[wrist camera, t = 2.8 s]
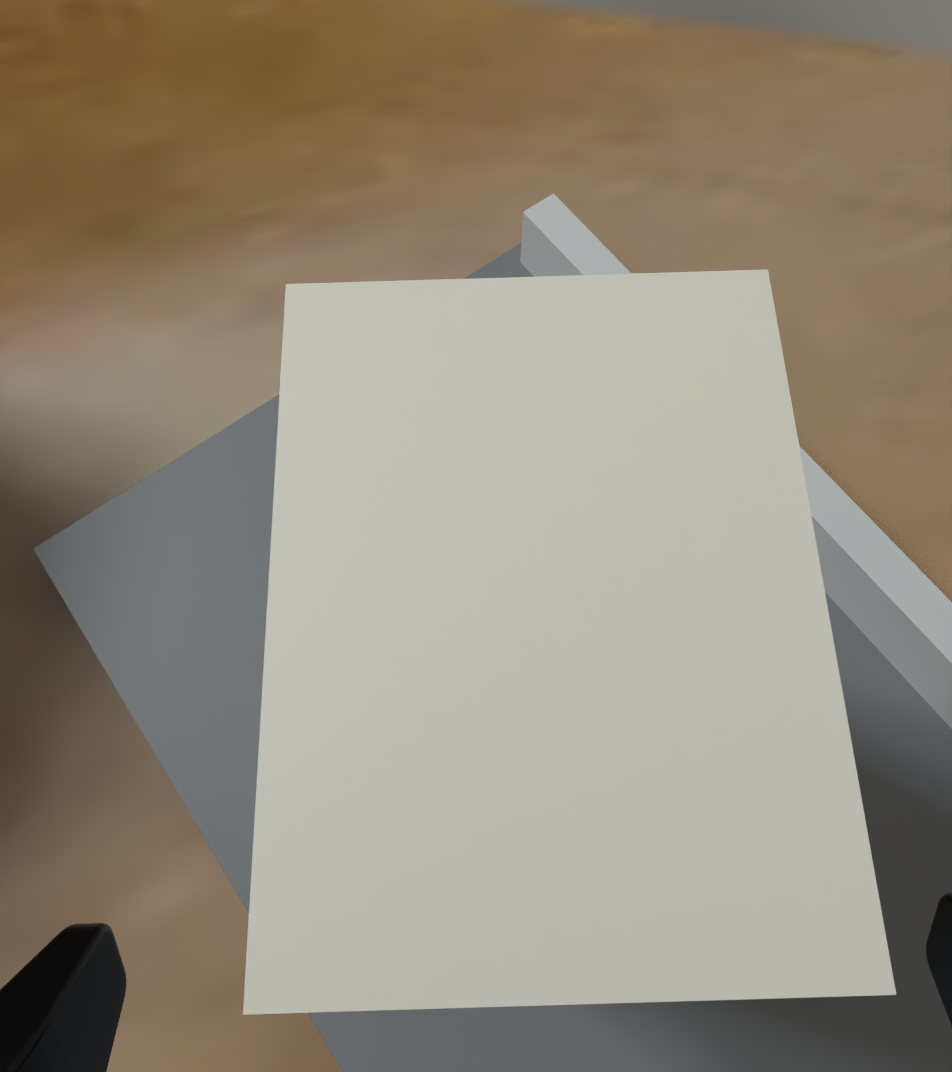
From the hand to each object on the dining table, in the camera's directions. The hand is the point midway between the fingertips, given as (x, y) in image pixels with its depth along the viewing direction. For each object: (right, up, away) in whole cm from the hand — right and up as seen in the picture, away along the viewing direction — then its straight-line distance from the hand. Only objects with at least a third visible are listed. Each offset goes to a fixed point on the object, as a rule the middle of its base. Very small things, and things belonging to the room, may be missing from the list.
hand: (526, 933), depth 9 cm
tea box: (0, 0, +10) cm, 10 cm away
